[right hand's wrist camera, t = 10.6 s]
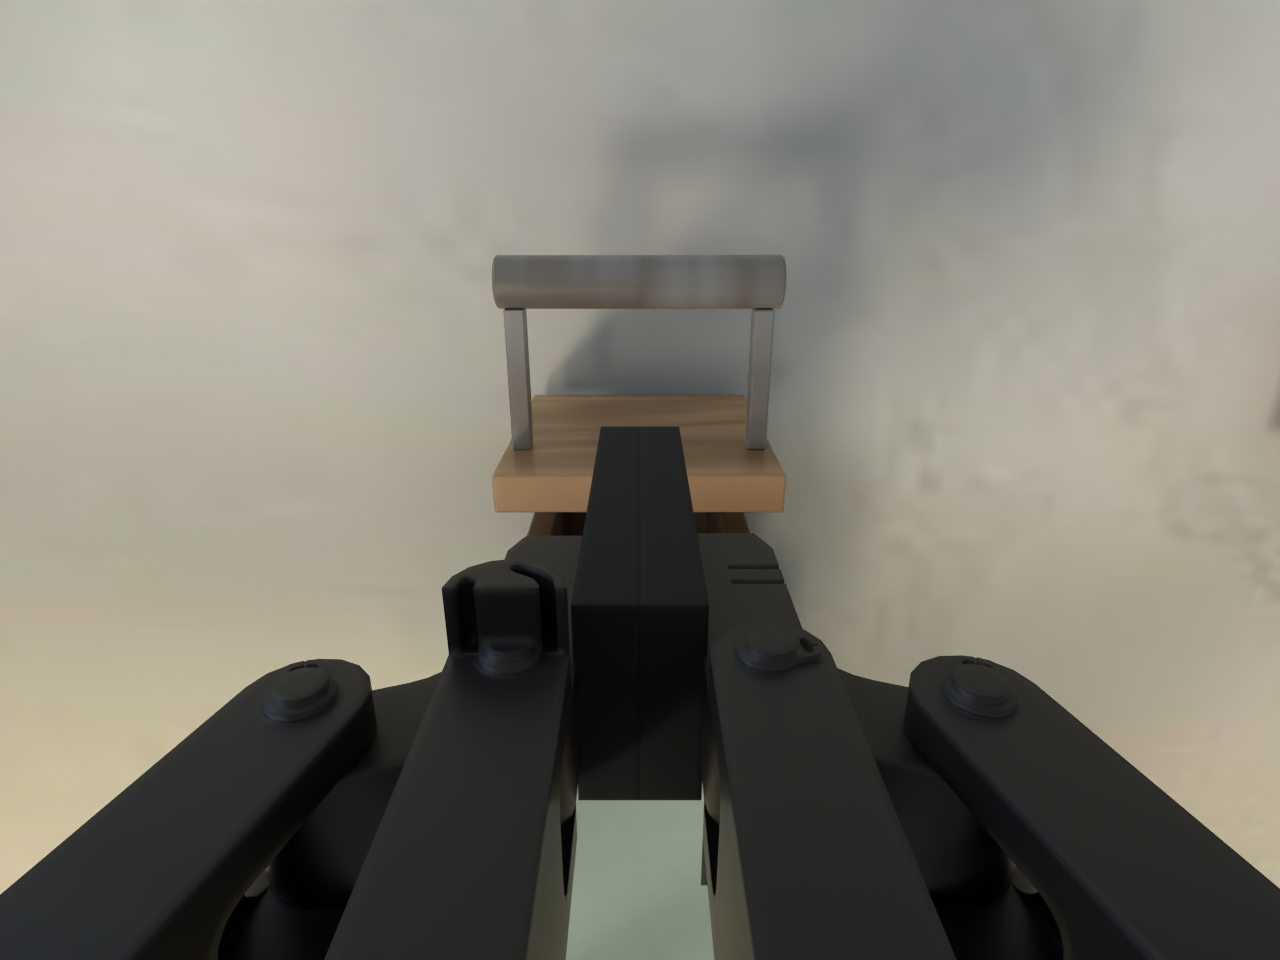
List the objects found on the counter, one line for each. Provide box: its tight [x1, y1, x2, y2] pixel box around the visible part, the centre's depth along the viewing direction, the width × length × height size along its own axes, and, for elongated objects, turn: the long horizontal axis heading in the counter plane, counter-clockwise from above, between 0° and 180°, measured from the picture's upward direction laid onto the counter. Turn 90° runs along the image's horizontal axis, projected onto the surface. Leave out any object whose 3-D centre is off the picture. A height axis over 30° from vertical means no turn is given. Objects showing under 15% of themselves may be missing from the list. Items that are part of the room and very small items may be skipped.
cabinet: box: [566, 784, 714, 960], centre depth 32 cm, size 19×10×11 cm, turn 0°
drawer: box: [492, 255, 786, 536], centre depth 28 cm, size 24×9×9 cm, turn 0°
